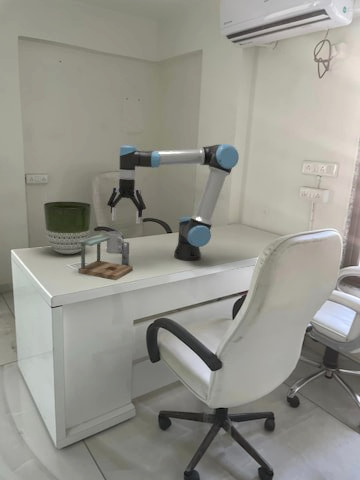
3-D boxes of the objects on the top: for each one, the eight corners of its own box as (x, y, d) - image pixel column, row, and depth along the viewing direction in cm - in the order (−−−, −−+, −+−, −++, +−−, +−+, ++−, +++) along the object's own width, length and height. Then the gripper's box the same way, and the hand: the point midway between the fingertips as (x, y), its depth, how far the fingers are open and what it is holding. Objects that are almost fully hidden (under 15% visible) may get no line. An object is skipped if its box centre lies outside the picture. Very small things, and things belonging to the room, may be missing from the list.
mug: (103, 251, 212) (103, 232, 209) (115, 248, 218) (115, 230, 216) (117, 255, 204) (117, 236, 202) (128, 253, 211) (129, 234, 208)
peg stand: (132, 270, 180) (133, 240, 177) (115, 280, 166) (116, 247, 162) (97, 264, 187) (97, 235, 184) (78, 272, 172) (78, 241, 169)
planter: (99, 254, 205) (100, 206, 198) (59, 261, 187) (58, 209, 181) (76, 245, 221) (75, 200, 214) (36, 251, 203) (35, 202, 197)
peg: (129, 265, 188) (130, 242, 186) (126, 267, 185) (127, 244, 182) (123, 264, 190) (124, 241, 187) (120, 266, 186) (120, 243, 183)
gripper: (153, 180, 177) (151, 223, 181) (108, 176, 185) (108, 217, 190) (146, 181, 170) (145, 226, 175) (100, 176, 178) (100, 219, 183)
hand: (125, 221), depth 182 cm, fingers open, 13 cm apart
